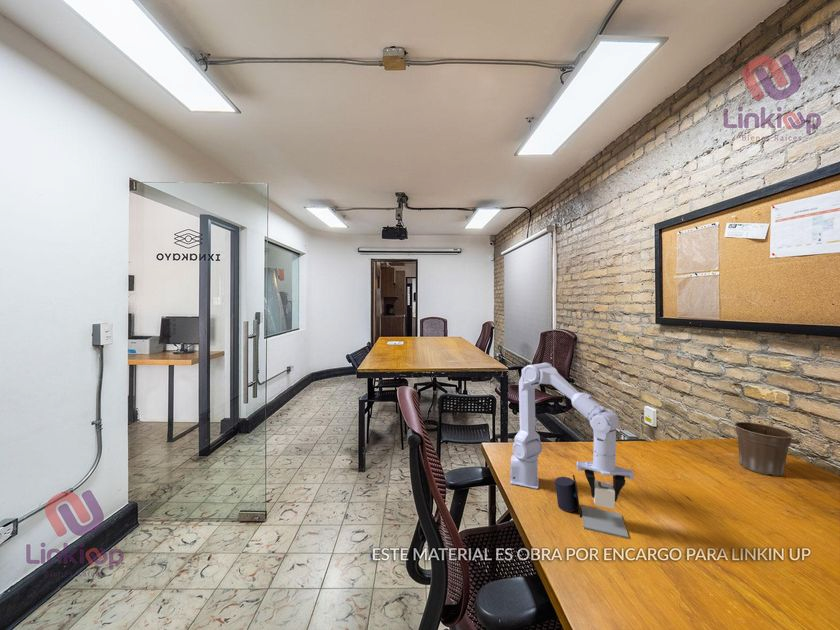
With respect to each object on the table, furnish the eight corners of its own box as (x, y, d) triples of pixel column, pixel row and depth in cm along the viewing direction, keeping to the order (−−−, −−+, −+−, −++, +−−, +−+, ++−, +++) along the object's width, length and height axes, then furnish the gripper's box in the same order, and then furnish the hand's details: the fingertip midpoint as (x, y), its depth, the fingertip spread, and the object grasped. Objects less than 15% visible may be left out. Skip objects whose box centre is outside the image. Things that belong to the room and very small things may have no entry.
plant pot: (796, 472, 128) (797, 431, 128) (788, 484, 119) (789, 440, 119) (739, 456, 142) (740, 419, 141) (728, 466, 133) (729, 426, 132)
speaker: (585, 508, 104) (582, 475, 104) (581, 517, 99) (577, 483, 99) (560, 501, 108) (557, 470, 109) (555, 510, 104) (551, 477, 104)
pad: (584, 528, 94) (584, 526, 94) (580, 507, 104) (580, 505, 104) (628, 538, 90) (628, 537, 90) (620, 515, 100) (620, 513, 100)
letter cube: (595, 505, 96) (595, 487, 96) (592, 496, 101) (593, 479, 100) (614, 509, 94) (614, 491, 94) (611, 499, 99) (611, 482, 99)
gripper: (578, 453, 96) (577, 499, 96) (636, 462, 90) (635, 511, 91) (576, 444, 102) (575, 487, 103) (630, 452, 97) (629, 497, 97)
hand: (603, 497), depth 97 cm, fingers closed on letter cube, 5 cm apart
